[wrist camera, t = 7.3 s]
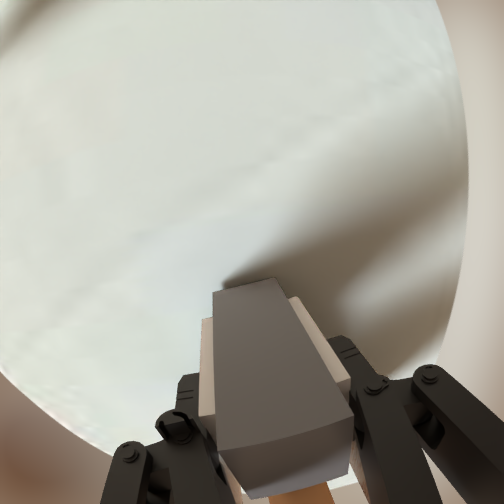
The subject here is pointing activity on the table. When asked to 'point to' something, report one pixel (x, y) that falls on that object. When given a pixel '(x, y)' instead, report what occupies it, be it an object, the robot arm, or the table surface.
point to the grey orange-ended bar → (275, 399)
